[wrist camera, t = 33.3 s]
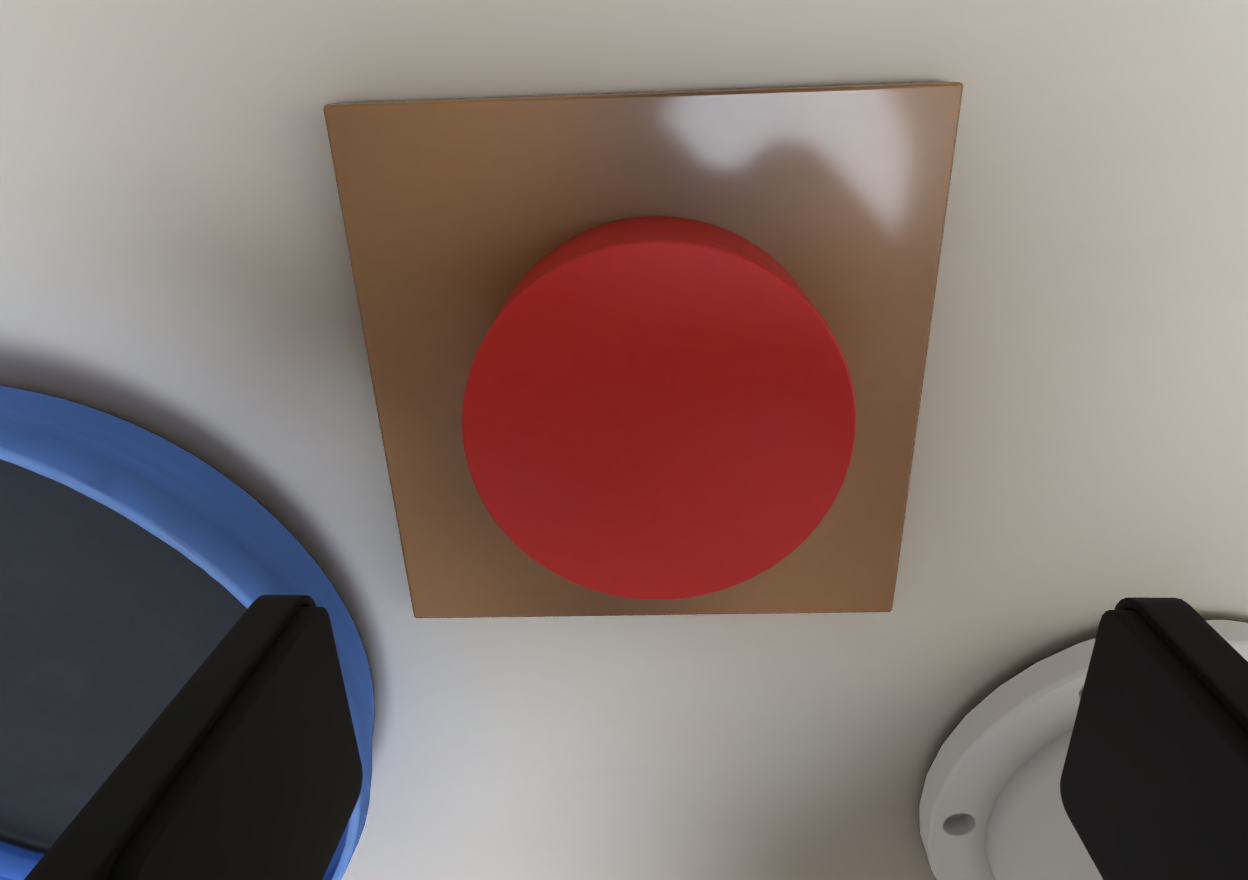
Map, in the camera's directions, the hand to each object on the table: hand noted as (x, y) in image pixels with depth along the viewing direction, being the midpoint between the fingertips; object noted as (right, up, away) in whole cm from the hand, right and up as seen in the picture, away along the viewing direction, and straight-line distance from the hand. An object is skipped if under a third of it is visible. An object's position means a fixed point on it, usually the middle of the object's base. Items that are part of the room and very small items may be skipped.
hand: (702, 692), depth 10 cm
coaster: (0, +5, +8) cm, 9 cm away
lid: (0, +3, +6) cm, 7 cm away
